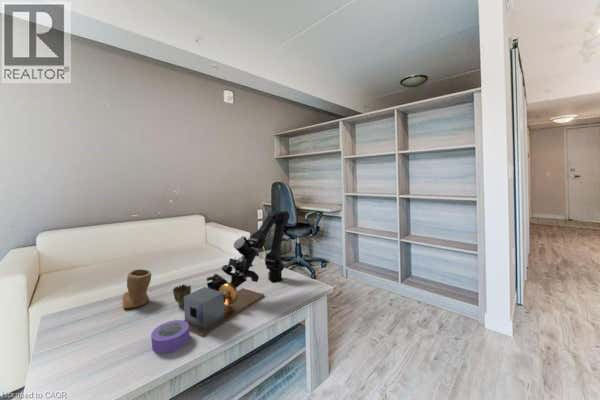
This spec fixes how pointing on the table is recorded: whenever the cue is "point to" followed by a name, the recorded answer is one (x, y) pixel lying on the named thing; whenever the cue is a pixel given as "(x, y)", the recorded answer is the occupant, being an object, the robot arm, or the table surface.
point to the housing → (214, 308)
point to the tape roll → (170, 336)
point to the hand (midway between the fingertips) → (230, 290)
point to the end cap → (216, 282)
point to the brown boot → (136, 288)
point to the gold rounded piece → (228, 293)
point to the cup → (181, 293)
